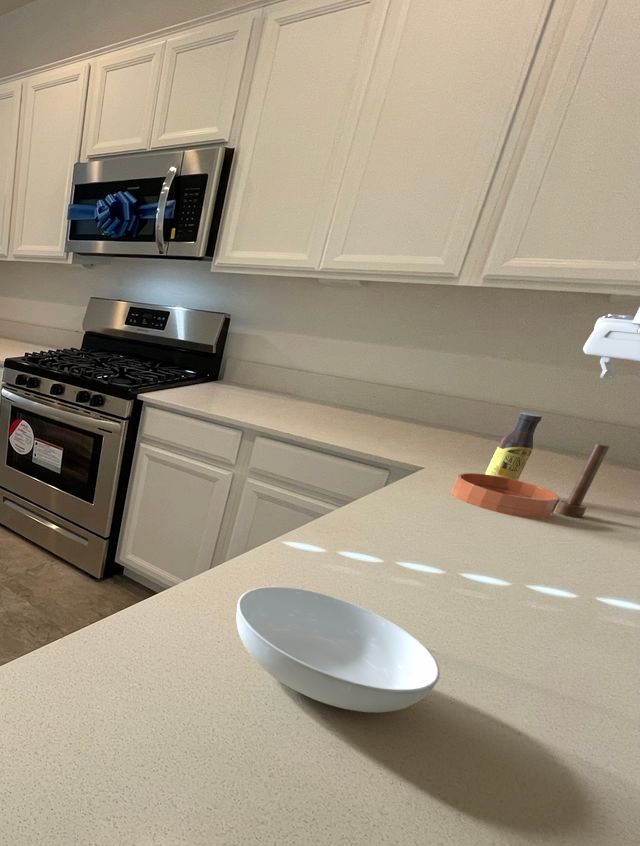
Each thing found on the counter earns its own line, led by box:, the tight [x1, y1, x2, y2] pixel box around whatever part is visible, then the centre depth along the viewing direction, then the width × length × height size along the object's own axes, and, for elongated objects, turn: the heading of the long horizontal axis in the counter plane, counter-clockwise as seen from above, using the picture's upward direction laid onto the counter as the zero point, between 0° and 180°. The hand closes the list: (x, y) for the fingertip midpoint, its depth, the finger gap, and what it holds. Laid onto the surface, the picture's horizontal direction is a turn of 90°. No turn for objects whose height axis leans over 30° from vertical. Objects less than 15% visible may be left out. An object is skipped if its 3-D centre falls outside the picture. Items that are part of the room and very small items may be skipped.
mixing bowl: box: [449, 472, 561, 520], centre depth 135 cm, size 17×17×6 cm
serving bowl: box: [235, 585, 440, 713], centre depth 73 cm, size 21×21×7 cm
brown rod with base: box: [555, 442, 611, 519], centre depth 134 cm, size 4×4×17 cm
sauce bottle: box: [484, 412, 543, 481], centre depth 148 cm, size 7×6×20 cm
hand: (635, 383), depth 126 cm, fingers open, 8 cm apart
